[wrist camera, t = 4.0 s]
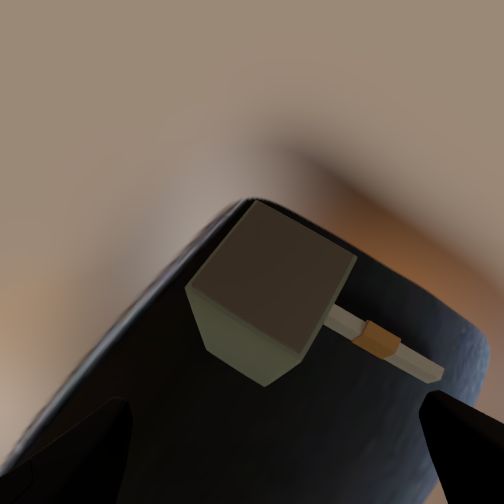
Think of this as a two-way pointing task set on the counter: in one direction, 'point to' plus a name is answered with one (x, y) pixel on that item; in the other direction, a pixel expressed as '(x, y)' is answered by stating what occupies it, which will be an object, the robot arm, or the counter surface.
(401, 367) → the rail
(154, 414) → the counter surface
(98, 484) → the robot arm
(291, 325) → the tea box
